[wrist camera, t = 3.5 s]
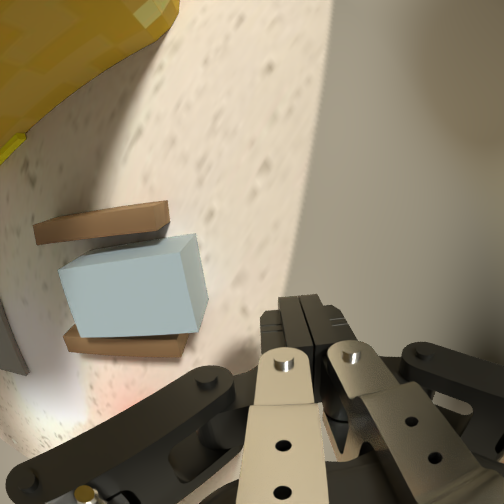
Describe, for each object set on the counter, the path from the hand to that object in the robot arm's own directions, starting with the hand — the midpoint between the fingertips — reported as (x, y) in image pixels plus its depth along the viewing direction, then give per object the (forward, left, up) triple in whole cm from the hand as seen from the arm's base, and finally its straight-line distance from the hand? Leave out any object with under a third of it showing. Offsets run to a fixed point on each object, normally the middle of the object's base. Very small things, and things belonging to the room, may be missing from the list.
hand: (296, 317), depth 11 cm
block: (0, -8, -6) cm, 10 cm away
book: (-15, -13, -6) cm, 21 cm away
